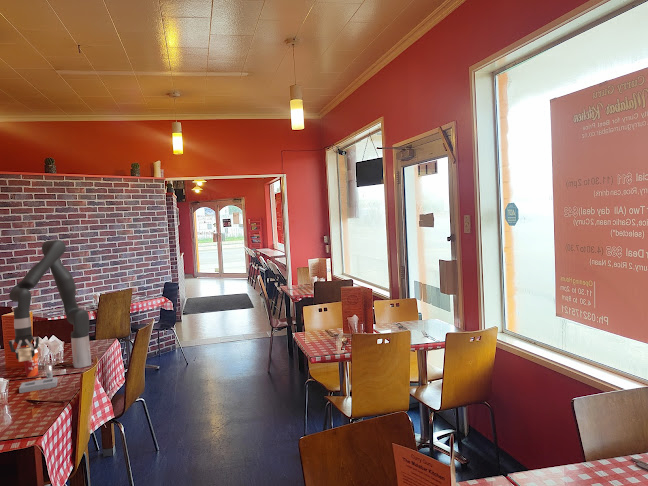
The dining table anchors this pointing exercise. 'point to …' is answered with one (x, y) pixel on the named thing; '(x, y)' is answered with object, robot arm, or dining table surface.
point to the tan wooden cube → (24, 354)
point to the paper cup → (32, 366)
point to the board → (38, 385)
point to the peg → (49, 371)
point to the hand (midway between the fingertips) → (25, 358)
